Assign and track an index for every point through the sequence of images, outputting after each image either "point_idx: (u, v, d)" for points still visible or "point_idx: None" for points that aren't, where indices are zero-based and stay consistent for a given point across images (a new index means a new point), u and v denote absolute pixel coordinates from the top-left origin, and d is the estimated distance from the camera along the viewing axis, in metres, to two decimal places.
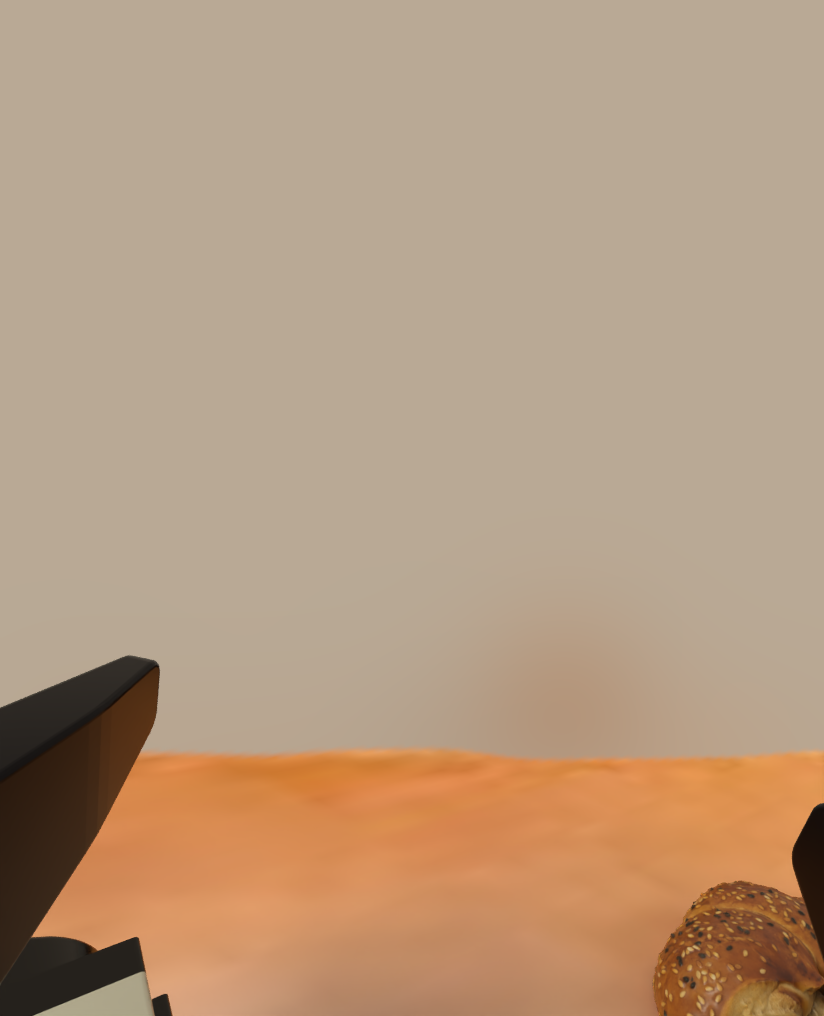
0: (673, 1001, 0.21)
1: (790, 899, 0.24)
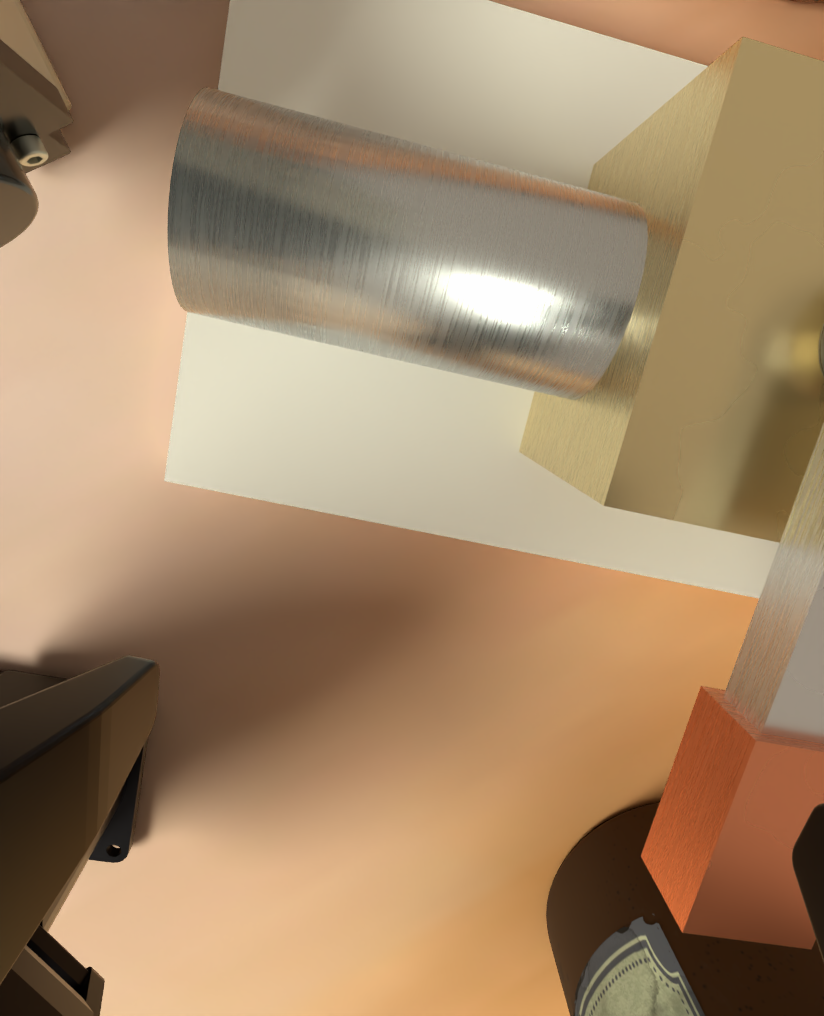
0: None
1: None
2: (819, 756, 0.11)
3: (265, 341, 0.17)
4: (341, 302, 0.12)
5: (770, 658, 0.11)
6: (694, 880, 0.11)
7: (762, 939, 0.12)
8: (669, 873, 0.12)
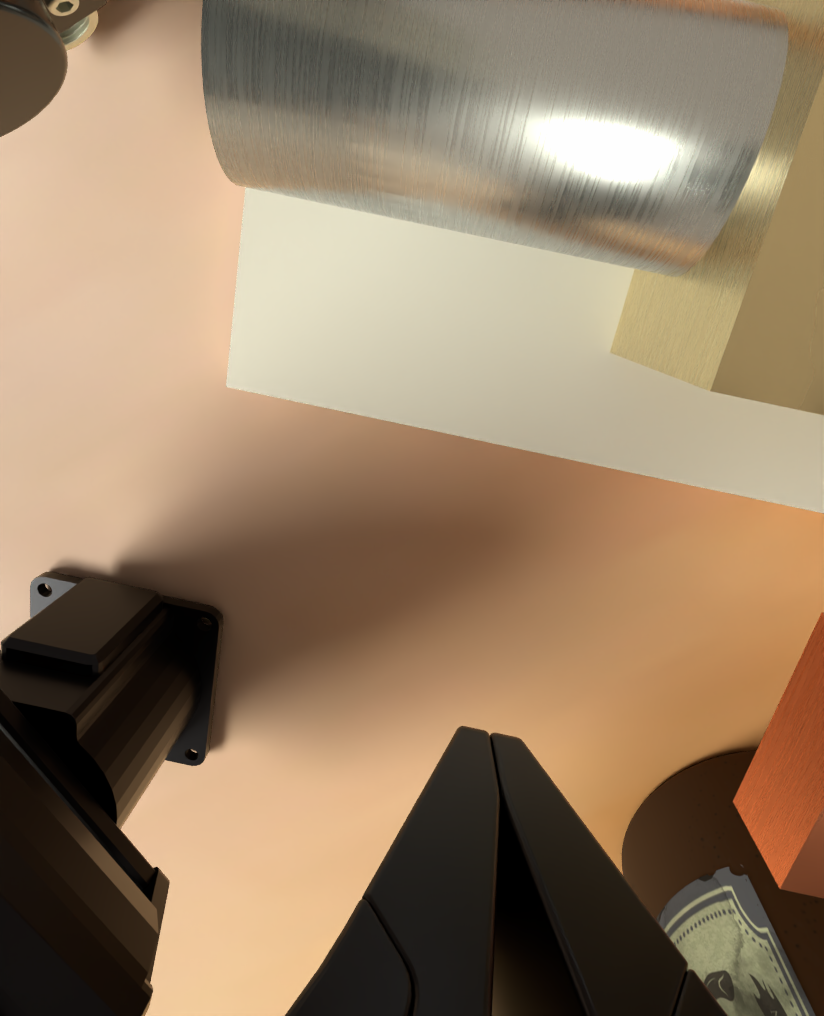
0: None
1: None
2: None
3: (326, 229, 0.16)
4: (399, 154, 0.11)
5: None
6: (799, 833, 0.10)
7: None
8: (767, 822, 0.10)
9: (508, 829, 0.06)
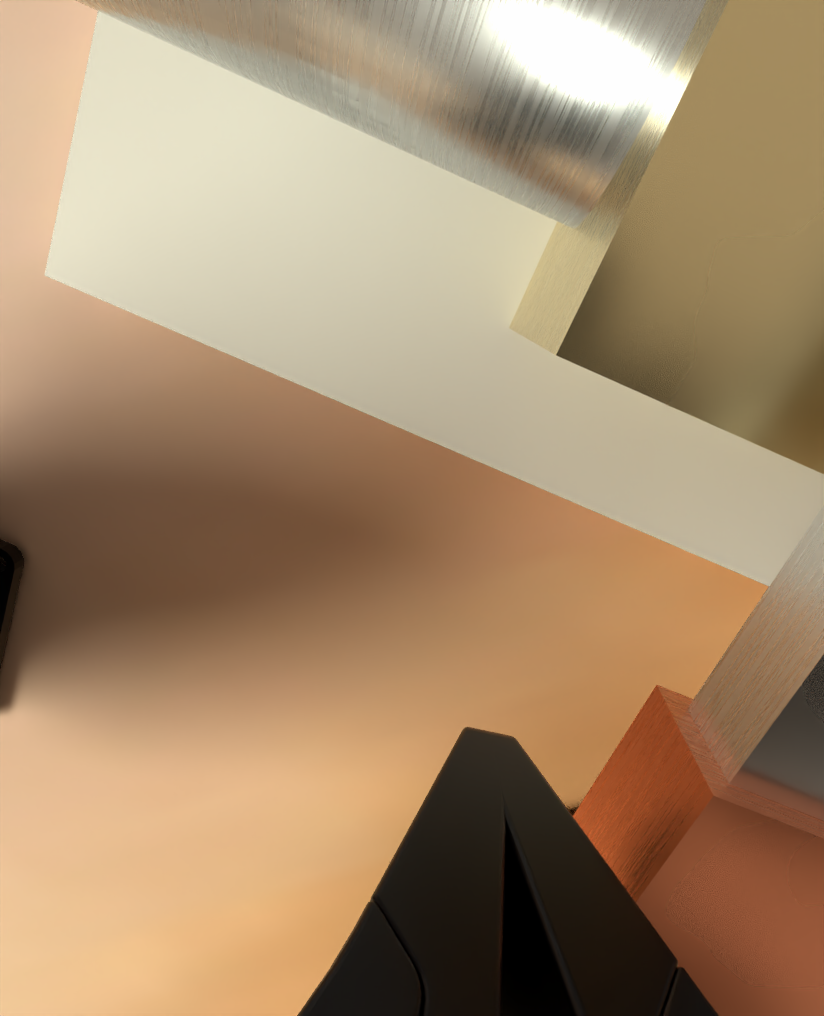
0: None
1: None
2: (822, 846, 0.06)
3: (191, 100, 0.13)
4: None
5: (777, 663, 0.06)
6: None
7: None
8: None
9: None
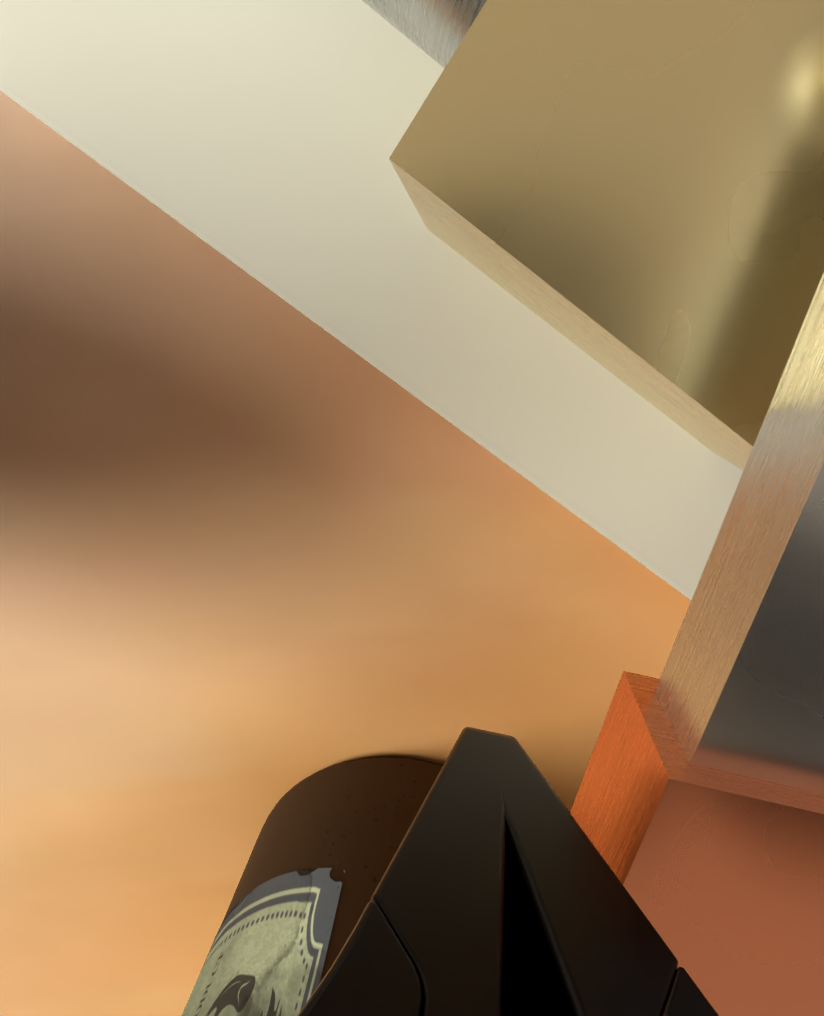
0: None
1: None
2: (793, 815, 0.06)
3: None
4: None
5: (719, 635, 0.06)
6: None
7: None
8: None
9: None
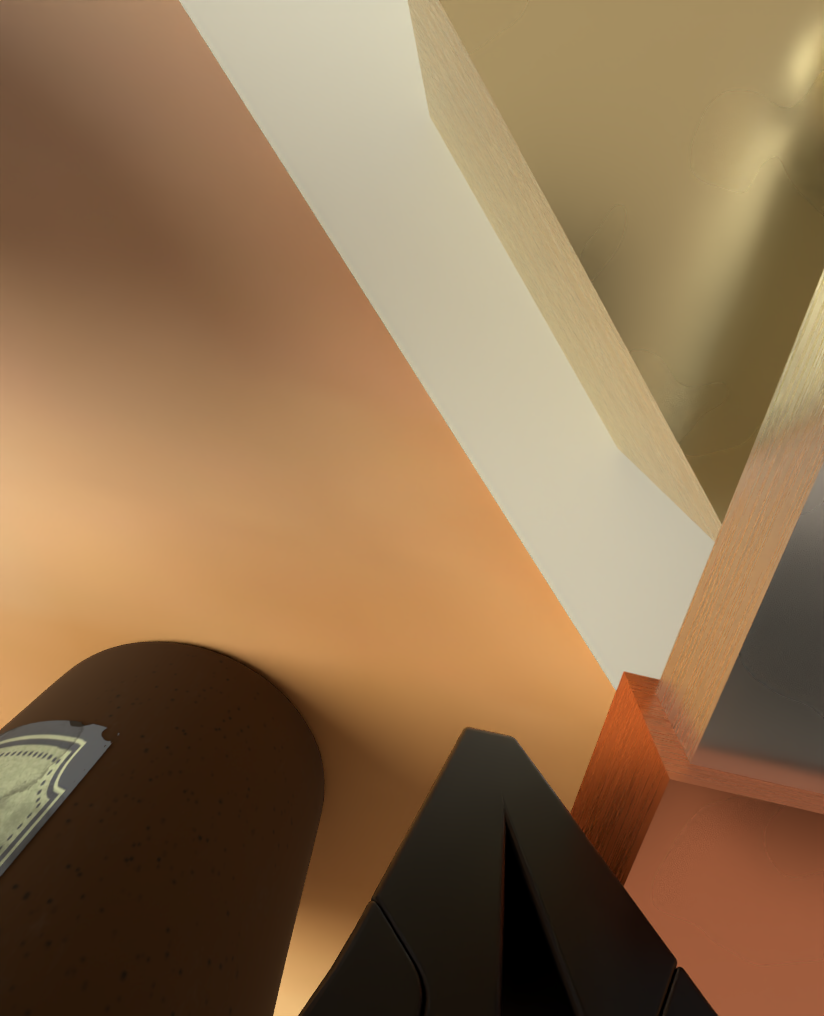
0: None
1: None
2: (794, 815, 0.06)
3: None
4: None
5: (719, 635, 0.06)
6: None
7: None
8: None
9: None
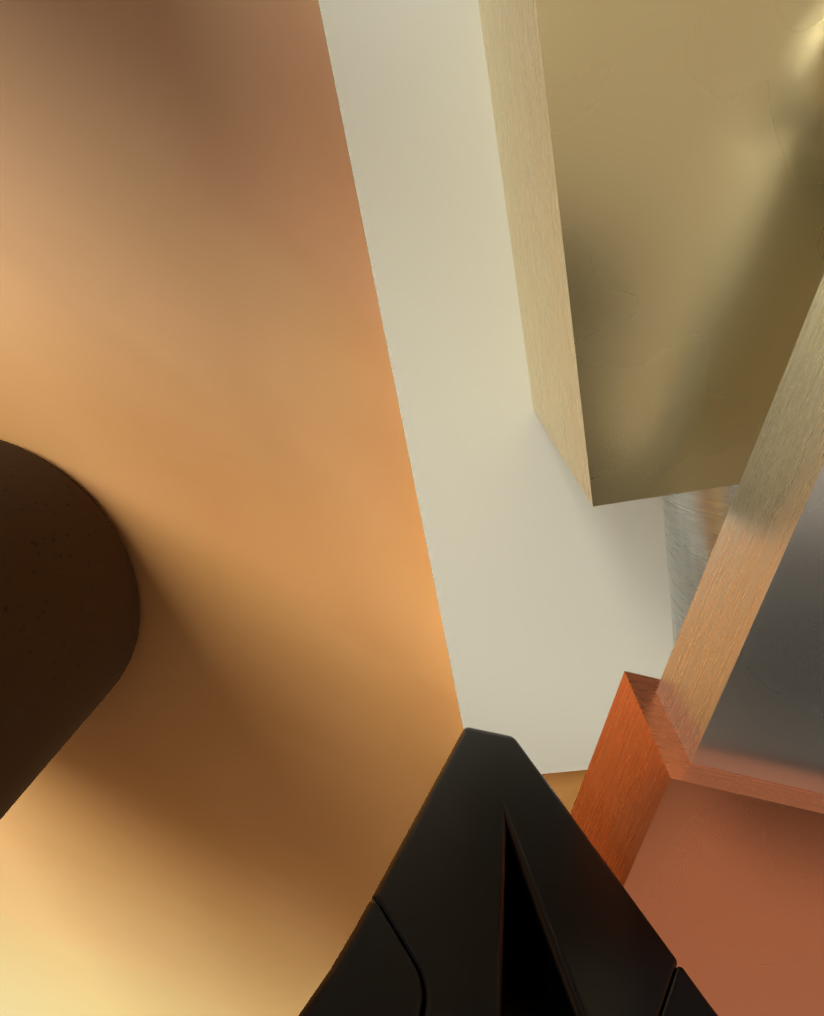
0: None
1: None
2: (795, 815, 0.06)
3: None
4: None
5: (720, 635, 0.06)
6: None
7: None
8: None
9: None
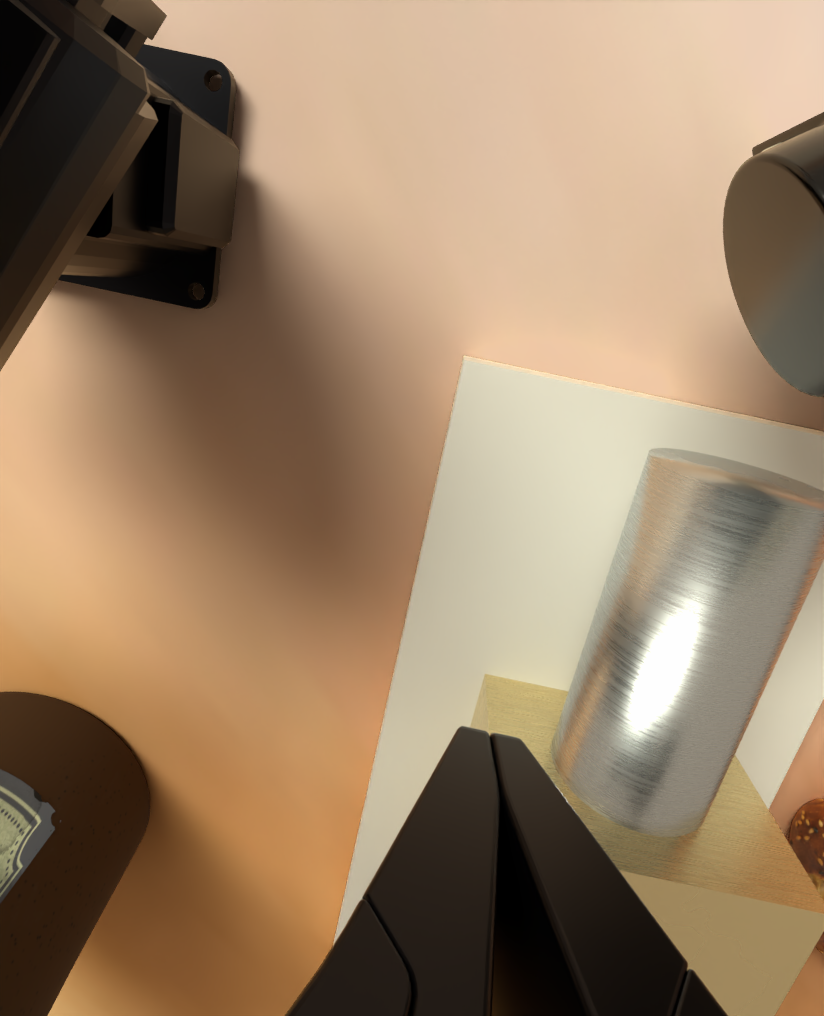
0: None
1: None
2: None
3: (596, 464, 0.19)
4: (663, 621, 0.14)
5: None
6: None
7: None
8: None
9: (508, 829, 0.06)
